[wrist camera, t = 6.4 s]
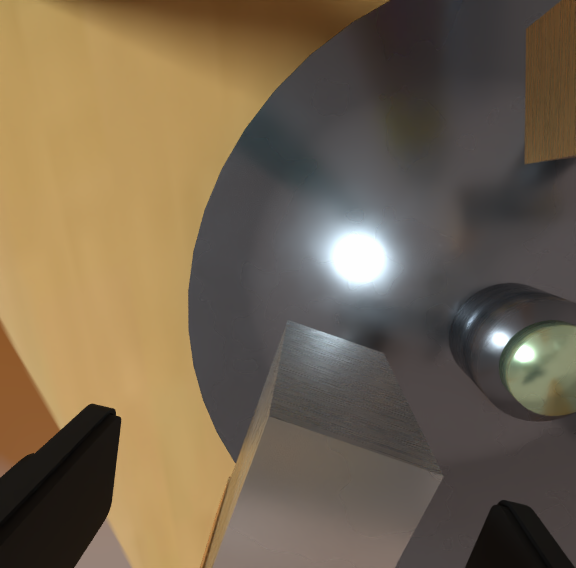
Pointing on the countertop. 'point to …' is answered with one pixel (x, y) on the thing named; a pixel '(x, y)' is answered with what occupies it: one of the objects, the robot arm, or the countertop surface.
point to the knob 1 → (325, 464)
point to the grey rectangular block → (551, 85)
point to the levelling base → (409, 255)
